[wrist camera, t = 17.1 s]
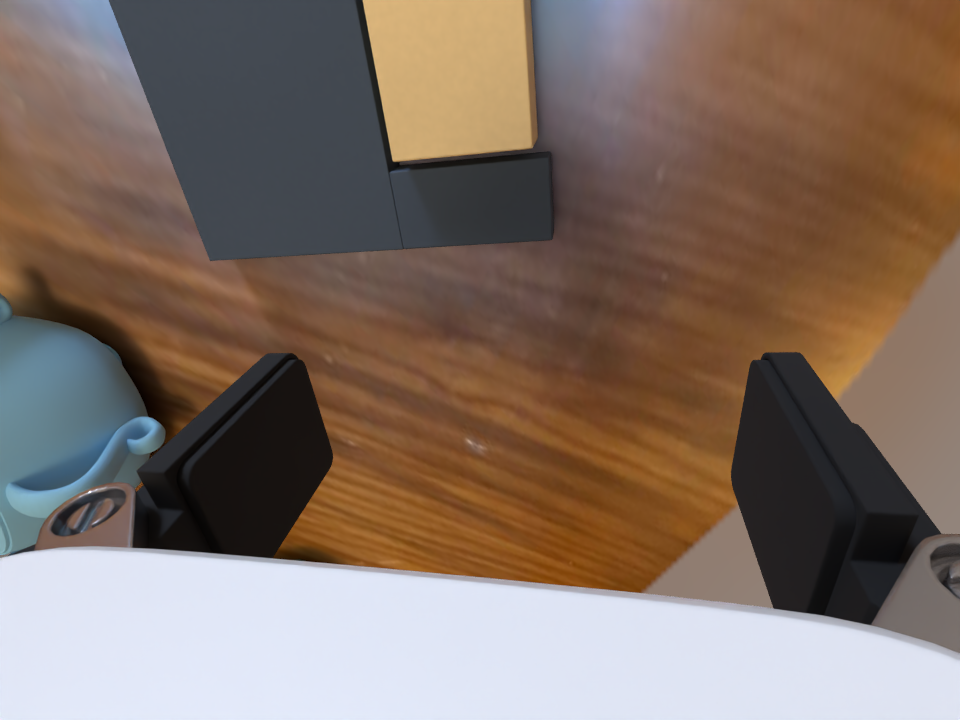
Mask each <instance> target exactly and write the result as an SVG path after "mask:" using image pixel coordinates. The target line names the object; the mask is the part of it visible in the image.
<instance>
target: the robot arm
mask: <svg viewBox="0 0 960 720" xmlns="http://www.w3.org/2000/svg"><path fill="white" fill-rule="evenodd" d="M332 460H333V453H332V449H331V446H330V443H329V439H328V436H327V433H326V430H325V427H324V423H323V420H322V417H321V414H320V410H319V407H318V404H317V401H316V398H315V394H314V391H313V388H312V385H311V382H310V378H309V375H308V372H307V369H306V366H305V364H304V362H303V361H302V360H299V359H298V358H297V356H296V355H294V354H292V353H270V354H266V355H265V356H263V357H262V358H261V359H260V360H259V361H258V362H257V363H256V364H255V365H253V366H252V367H251V368H250V369H249V370H248V371H247V372H246V373H245V374H243V375H242V376H241V377H240V378H239V379H238V380H237V381H236V382H234V383H233V384H232V385H231V386H230V387H229V388H228V389H227V390H226V391H224V392H223V393H222V394H221V395H220V396H219V397H218V398H217V399H216V400H214V401H213V402H212V403H211V404H210V405H209V406H208V407H207V408H206V409H204V410H203V411H202V412H201V413H200V414H199V415H198V416H197V417H196V418H194V419H193V420H192V421H191V422H190V423H189V424H188V425H187V426H186V427H184V428H183V429H182V430H181V431H180V432H179V433H178V434H177V435H176V436H174V437H173V438H172V439H171V440H170V441H169V442H168V443H167V444H166V445H164V446H163V447H162V448H161V449H160V450H159V451H158V452H157V453H156V454H154V455H153V456H152V457H151V458H150V459H149V460H148V461H147V462H145V463H144V464H143V465H142V466H141V467H140V468H139V469H138V470H137V471H136V472H137V474H138V475H139V477H140V479H141V481H142V483H143V484H144V485H143V486H142V487H141V488H140V489H139V490H138V491H137V492H136V490H135V488H134V487H133V486H131V485H130V484H129V483H123V482H114V483H106V484H103V485H99V486H96V487H93V488H91V489H88V490H86V491H84V492H81V493H79V494H77V495H76V496H74V497H72V498H70V499H69V500H67V501H65V502H64V503H63V504H62V505H60V506H59V507H58V508H56V509H55V510H54V511H53V512H52V513H51V514H50V515H49V516H48V517H47V518H46V519H45V521H44V523H43V525H42V527H41V529H40V531H39V535H38V538H37V542H36V544H34V545H32V546H30V547H27V548H25V549H22V550H20V551H18V552H15V553H13V554H11V555H8V556H6V557H3V558H0V720H960V534H941V533H940V531H939V530H938V529H937V527H936V526H935V525H934V523H933V522H932V521H931V519H930V518H929V517H928V515H927V514H926V513H925V511H924V510H923V509H922V507H921V506H920V505H919V503H918V502H917V501H916V499H915V498H914V497H913V495H912V494H911V493H910V491H909V490H908V489H907V487H906V486H905V485H904V483H903V482H902V480H901V479H900V478H899V477H898V475H897V474H896V472H895V471H894V470H893V468H892V467H891V466H890V465H889V463H888V462H887V461H886V459H885V458H884V457H883V455H882V454H881V452H880V451H879V450H878V448H877V447H876V446H875V444H874V443H873V442H872V440H871V439H870V438H869V436H868V435H867V434H866V433H865V431H864V430H863V429H862V428H861V427H860V426H859V425H857V424H854V423H852V422H851V421H850V420H849V418H848V417H847V416H846V414H845V413H844V411H843V410H842V409H841V407H840V406H839V405H838V403H837V402H836V400H835V399H834V398H833V396H832V395H831V394H830V392H829V391H828V389H827V388H826V387H825V385H824V384H823V383H822V381H821V380H820V378H819V377H818V376H817V374H816V373H815V372H814V370H813V369H812V368H811V366H810V365H809V363H808V362H807V361H806V359H805V358H804V357H803V355H802V354H801V353H797V352H780V353H764V354H763V356H762V358H761V360H753V361H752V362H751V364H750V368H749V374H748V379H747V385H746V390H745V396H744V402H743V407H742V413H741V418H740V424H739V430H738V435H737V441H736V446H735V452H734V458H733V463H732V469H731V480H732V486H733V490H734V493H735V496H736V499H737V502H738V505H739V507H740V510H741V513H742V516H743V519H744V522H745V525H746V528H747V531H748V534H749V537H750V540H751V543H752V546H753V549H754V552H755V555H756V558H757V561H758V564H759V566H760V570H761V572H762V576H763V578H764V581H765V584H766V587H767V590H768V593H769V596H770V599H771V602H772V605H773V608H774V609H773V608H766V607H758V606H751V605H742V604H734V603H726V602H716V601H708V600H698V599H689V598H680V597H671V596H662V595H654V594H644V593H634V592H624V591H614V590H603V589H593V588H583V587H573V586H563V585H553V584H543V583H533V582H522V581H512V580H502V579H492V578H481V577H471V576H460V575H449V574H439V573H428V572H417V571H407V570H396V569H385V568H374V567H363V566H352V565H341V564H331V563H319V562H308V561H296V560H285V559H273V556H274V555H275V553H276V552H277V550H278V549H279V547H280V545H281V544H282V542H283V541H284V539H285V538H286V536H287V534H288V533H289V531H290V530H291V528H292V527H293V525H294V524H295V522H296V520H297V519H298V517H299V516H300V514H301V513H302V511H303V510H304V508H305V506H306V505H307V503H308V502H309V500H310V499H311V497H312V495H313V494H314V492H315V491H316V489H317V488H318V486H319V485H320V483H321V481H322V480H323V478H324V477H325V475H326V474H327V472H328V471H329V469H330V467H331V465H332Z"/></svg>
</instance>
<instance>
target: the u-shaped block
mask: <svg viewBox="0 0 960 720" xmlns="http://www.w3.org/2000/svg"><path fill="white" fill-rule="evenodd" d="M109 2H110V5H111V7H112V10H113V12H114V15H115V17H116V20H117V23H118V25H119V28H120V30H121V33H122V35H123V38H124V41H125V43H126V46H127V48H128V51H129V53H130V56H131V59H132V61H133V64H134V66H135V69H136V71H137V74H138V77H139V79H140V82H141V84H142V87H143V89H144V92H145V95H146V97H147V100H148V102H149V105H150V107H151V110H152V113H153V115H154V118H155V120H156V123H157V125H158V128H159V131H160V133H161V136H162V138H163V141H164V143H165V146H166V149H167V151H168V154H169V156H170V159H171V161H172V164H173V167H174V169H175V172H176V174H177V177H178V179H179V182H180V185H181V187H182V190H183V192H184V195H185V197H186V200H187V203H188V205H189V208H190V210H191V213H192V215H193V218H194V221H195V223H196V226H197V228H198V231H199V233H200V236H201V239H202V241H203V244H204V246H205V249H206V251H207V254H208V257H209V259H210V261H215V260H232V259H248V258H265V257H281V256H298V255H315V254H331V253H348V252H364V251H381V250H398V249H411V248H428V247H445V246H461V245H478V244H494V243H511V242H528V241H544V240H552V239H553V233H554V215H553V191H552V167H551V152H540V153H529V154H519V155H508V156H498V157H487V158H477V159H466V160H456V161H445V162H435V163H424V164H414V165H403V166H399V163H398V162H393V160H392V155H391V149H390V144H389V139H388V133H387V128H386V123H385V117H384V112H383V106H382V101H381V96H380V90H379V85H378V80H377V74H376V69H375V64H374V58H373V53H372V48H371V42H370V37H369V32H368V26H367V21H366V15H365V10H364V5H363V0H109Z"/></svg>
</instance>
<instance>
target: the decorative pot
mask: <svg viewBox="0 0 960 720" xmlns="http://www.w3.org/2000/svg"><path fill="white" fill-rule="evenodd" d="M164 440H165V429H164V427H163V426H162V425H161V424H160V423H159V422H158V421H156V420H155V419H153V418H150V417H148V414H147V411H146V408H145V405H144V403H143V400H142V398H141V396H140V394H139V392H138V390H137V388H136V386H135V385H134V383H133V381H132V380H131V378H130V376H129V375H128V373H127V372H126V370H125V369H124V367H123V366H122V361H121V359H120V357H119V355H118V354H117V353H116V351H115V350H113V349H112V348H111V347H110V346H108V345H106V344H104V343H101V342H100V341H98V340H97V339H96V338H94V337H93V336H91V335H90V334H88V333H86V332H84V331H82V330H80V329H77V328H74V327H71V326H68V325H65V324H61V323H57V322H53V321H48V320H43V319H37V318H30V317H24V316H13V315H12V307H11V305H10V303H9V302H8V300H7V299H6V298H5V297H4V296H3V295H1V294H0V555H5V554H8V553H11V554H13V553H15V552H18V551H20V550H22V549H25V548H27V547H30V546H32V545H34V544H36V542H37V538H38V535H39V531H40V529H41V527H42V525H43V523H44V521H45V519H46V518H47V517H48V516H49V515H50V514H51V513H52V512H53V511H54V510H55V509H56V508H58V507H59V506H60V505H62V504H63V503H64V502H65V501H67V500H69V499H70V498H72V497H74V496H76V495H77V494H79V493H81V492H84V491H86V490H88V489H91V488H93V487H96V486H99V485H103V484H106V483H114V482H123V483H129V484H130V485H131V486H133V487H134V488H136V487H137V486H138V485H139V484H140V482H141V479H140V477H139V475H138V474H137V472H136V471H137V470H138V469H139V468H140V467H141V466H142V465H143V464H144V463H145V462H147V461H148V460H149V456H150V453H151V452H153V451H155V450H157V449H158V448H160V447H161V446H162V444H163V443H164ZM11 554H9V555H11Z"/></svg>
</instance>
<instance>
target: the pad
mask: <svg viewBox="0 0 960 720" xmlns="http://www.w3.org/2000/svg"><path fill="white" fill-rule="evenodd" d="M363 5H364V10H365V15H366V21H367V26H368V32H369V37H370V42H371V48H372V53H373V58H374V64H375V69H376V74H377V80H378V85H379V90H380V96H381V101H382V106H383V112H384V117H385V123H386V128H387V133H388V139H389V144H390V149H391V155H392V160H393V162H400V161H410V160H420V159H431V158H441V157H451V156H462V155H472V154H482V153H492V152H503V151H513V150H523V149H531V148H533V146H534V144H535V142H536V140H537V138H538V131H537V112H536V93H535V74H534V55H533V36H532V17H531V0H363Z"/></svg>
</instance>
